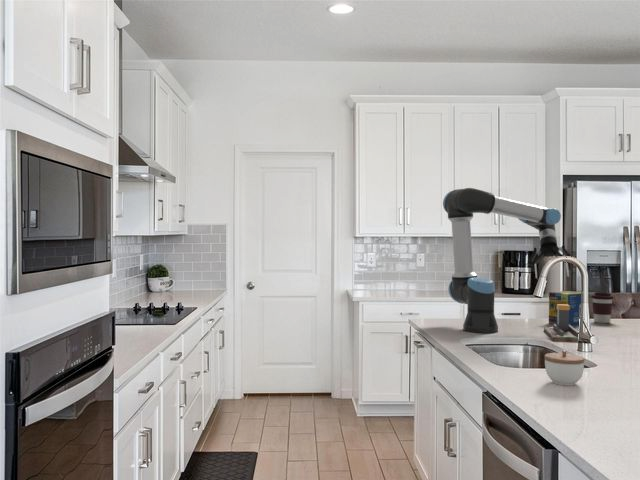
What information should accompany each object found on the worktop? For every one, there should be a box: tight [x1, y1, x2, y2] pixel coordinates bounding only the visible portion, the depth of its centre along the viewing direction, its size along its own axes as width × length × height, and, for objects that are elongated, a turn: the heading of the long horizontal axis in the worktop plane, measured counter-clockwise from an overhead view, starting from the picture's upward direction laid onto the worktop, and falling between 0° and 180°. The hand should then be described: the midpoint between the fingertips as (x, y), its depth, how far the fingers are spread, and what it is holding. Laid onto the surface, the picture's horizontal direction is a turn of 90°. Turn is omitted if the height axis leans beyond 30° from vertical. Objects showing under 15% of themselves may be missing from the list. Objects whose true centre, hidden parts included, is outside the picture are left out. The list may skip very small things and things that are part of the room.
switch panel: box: [543, 324, 579, 343], centre depth 247 cm, size 14×26×4 cm, turn 166°
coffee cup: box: [590, 291, 614, 324], centre depth 289 cm, size 10×10×15 cm
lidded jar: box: [544, 350, 585, 387], centre depth 168 cm, size 11×11×9 cm
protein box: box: [548, 290, 581, 327], centre depth 283 cm, size 10×15×16 cm
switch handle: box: [557, 304, 570, 331], centre depth 254 cm, size 5×5×11 cm
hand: (552, 275), depth 265 cm, fingers open, 13 cm apart
